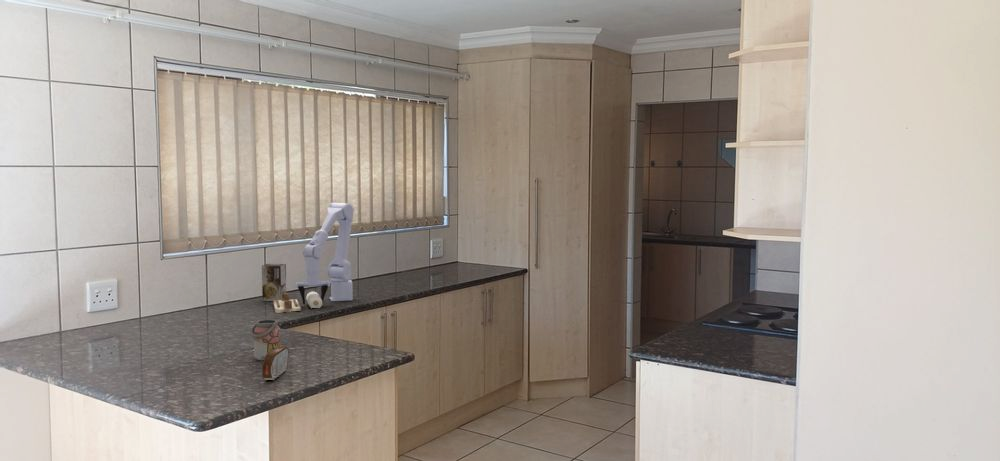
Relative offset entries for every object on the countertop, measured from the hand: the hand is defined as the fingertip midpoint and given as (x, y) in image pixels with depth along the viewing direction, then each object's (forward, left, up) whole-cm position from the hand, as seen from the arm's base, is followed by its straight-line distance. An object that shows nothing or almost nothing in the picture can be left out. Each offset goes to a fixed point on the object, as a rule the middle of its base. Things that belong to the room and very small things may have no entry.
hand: (312, 303), depth 318 cm
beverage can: (+23, +80, -2) cm, 83 cm away
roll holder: (+11, 0, -1) cm, 11 cm away
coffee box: (+15, -19, -2) cm, 24 cm away
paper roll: (0, 0, -2) cm, 2 cm away
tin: (+21, +101, -2) cm, 103 cm away
